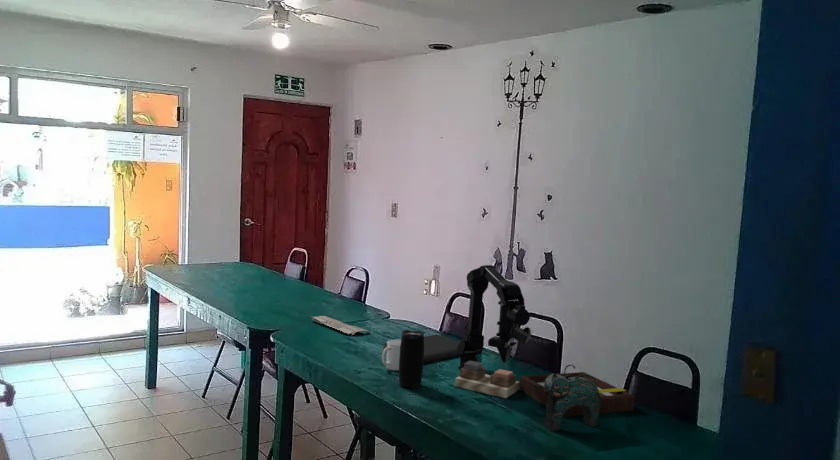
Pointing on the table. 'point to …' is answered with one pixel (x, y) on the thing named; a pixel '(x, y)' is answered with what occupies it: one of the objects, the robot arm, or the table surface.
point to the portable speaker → (411, 359)
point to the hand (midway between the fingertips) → (504, 362)
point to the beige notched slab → (338, 325)
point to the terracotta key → (503, 373)
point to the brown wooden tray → (610, 402)
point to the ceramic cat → (571, 399)
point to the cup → (392, 355)
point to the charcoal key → (473, 366)
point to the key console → (487, 383)
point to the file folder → (438, 348)
